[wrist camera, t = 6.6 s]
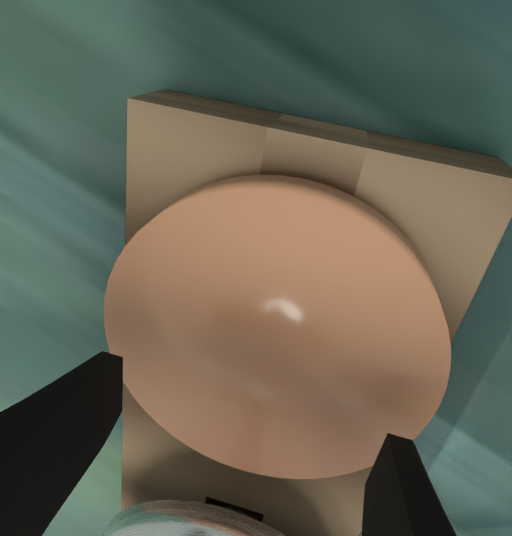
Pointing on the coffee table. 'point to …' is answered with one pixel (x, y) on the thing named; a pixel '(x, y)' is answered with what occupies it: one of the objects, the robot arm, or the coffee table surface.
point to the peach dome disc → (278, 327)
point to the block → (329, 173)
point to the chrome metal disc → (185, 521)
